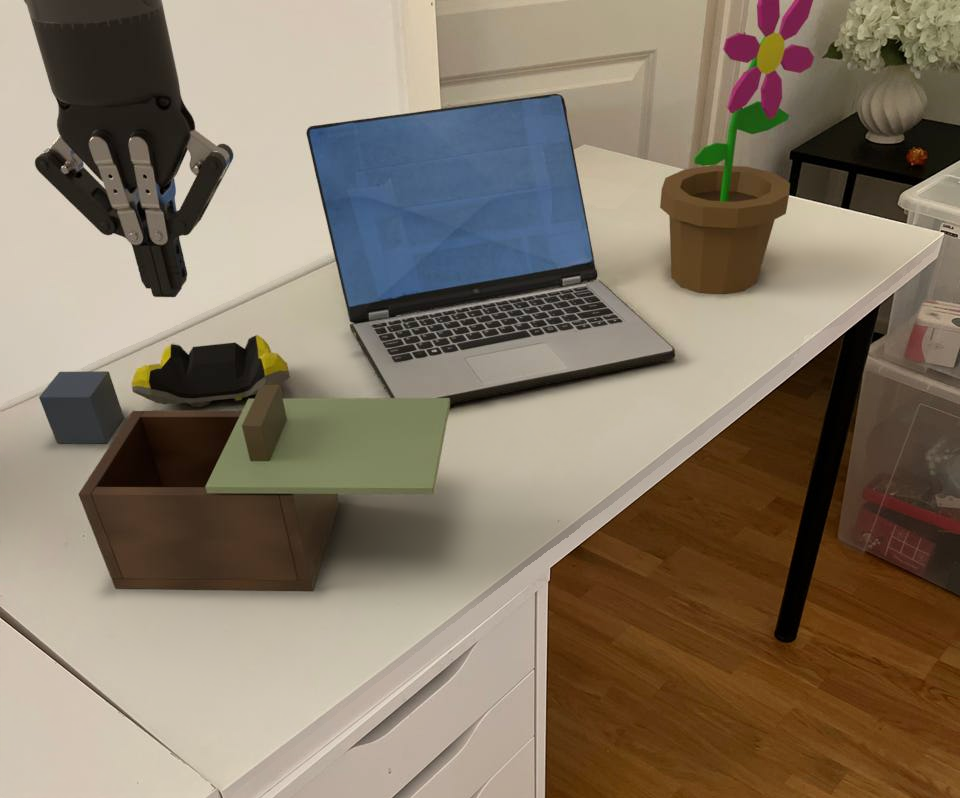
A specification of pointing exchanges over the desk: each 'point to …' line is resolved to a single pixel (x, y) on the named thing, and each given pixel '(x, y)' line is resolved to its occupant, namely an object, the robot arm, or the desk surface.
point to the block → (82, 407)
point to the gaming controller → (210, 373)
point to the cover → (332, 446)
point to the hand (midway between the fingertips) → (168, 292)
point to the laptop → (471, 251)
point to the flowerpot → (736, 169)
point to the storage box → (197, 513)
